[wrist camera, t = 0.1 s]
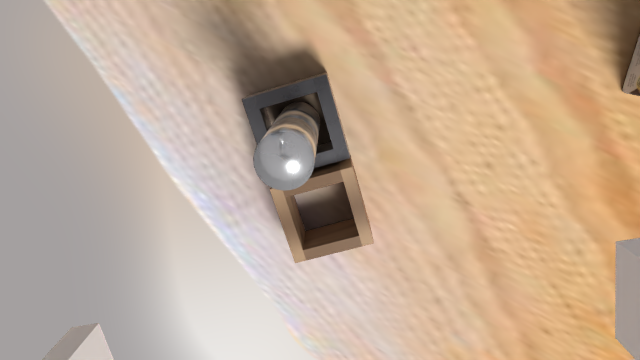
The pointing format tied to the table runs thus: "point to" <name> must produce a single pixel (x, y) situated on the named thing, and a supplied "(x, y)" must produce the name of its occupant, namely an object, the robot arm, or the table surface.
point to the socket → (299, 88)
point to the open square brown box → (331, 235)
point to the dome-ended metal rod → (289, 148)
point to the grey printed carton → (633, 73)
